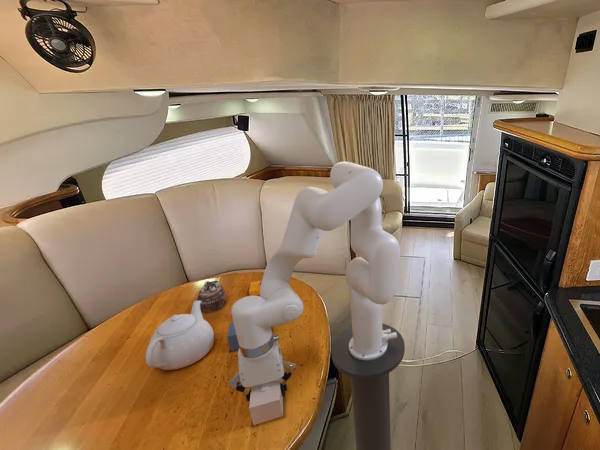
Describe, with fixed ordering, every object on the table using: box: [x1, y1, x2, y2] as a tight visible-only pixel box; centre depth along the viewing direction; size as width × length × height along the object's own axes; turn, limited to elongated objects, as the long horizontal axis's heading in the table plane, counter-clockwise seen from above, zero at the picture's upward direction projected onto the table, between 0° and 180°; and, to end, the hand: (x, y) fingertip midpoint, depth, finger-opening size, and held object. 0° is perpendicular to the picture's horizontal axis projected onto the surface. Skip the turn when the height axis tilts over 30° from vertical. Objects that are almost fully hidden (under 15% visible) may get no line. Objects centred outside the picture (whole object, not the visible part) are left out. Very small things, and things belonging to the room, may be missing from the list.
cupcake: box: [196, 280, 226, 313], centre depth 121 cm, size 10×10×10 cm
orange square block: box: [248, 279, 262, 296], centre depth 133 cm, size 8×8×4 cm
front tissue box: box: [248, 380, 284, 426], centre depth 82 cm, size 12×7×6 cm, turn 20°
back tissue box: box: [226, 321, 239, 352], centre depth 104 cm, size 12×7×6 cm, turn 110°
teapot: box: [145, 300, 215, 371], centre depth 97 cm, size 19×18×14 cm
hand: (268, 396), depth 83 cm, fingers closed on front tissue box, 7 cm apart
